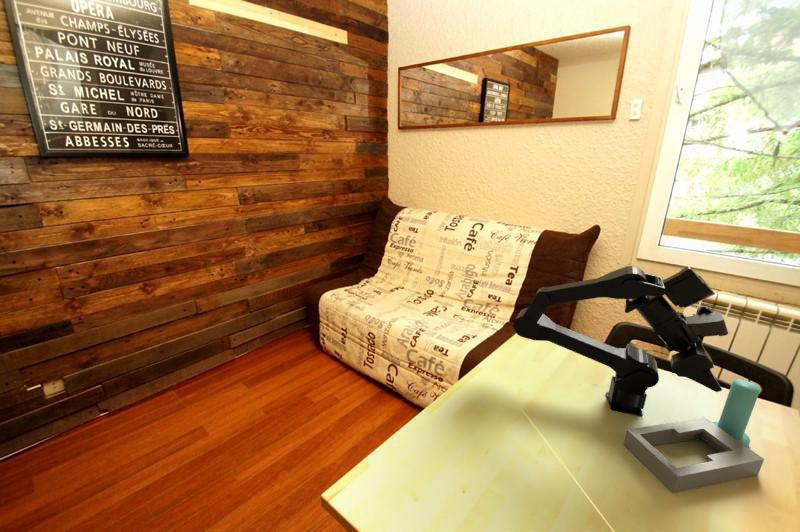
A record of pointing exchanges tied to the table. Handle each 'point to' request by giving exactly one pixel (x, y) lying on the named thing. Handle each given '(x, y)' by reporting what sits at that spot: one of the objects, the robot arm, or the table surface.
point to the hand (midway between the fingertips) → (715, 378)
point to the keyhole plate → (718, 469)
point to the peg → (738, 409)
